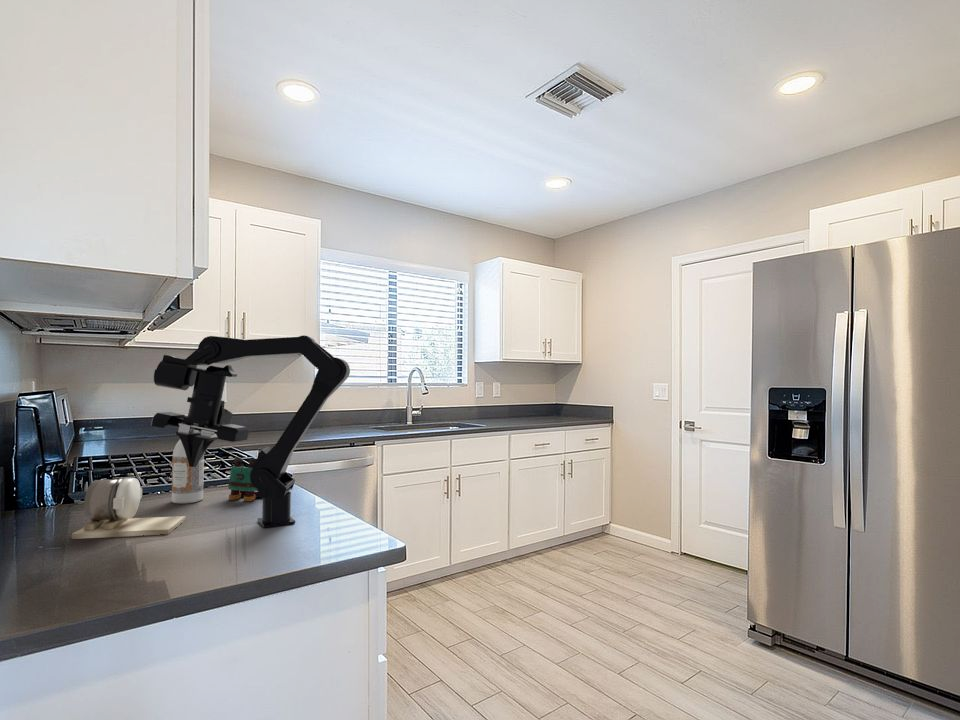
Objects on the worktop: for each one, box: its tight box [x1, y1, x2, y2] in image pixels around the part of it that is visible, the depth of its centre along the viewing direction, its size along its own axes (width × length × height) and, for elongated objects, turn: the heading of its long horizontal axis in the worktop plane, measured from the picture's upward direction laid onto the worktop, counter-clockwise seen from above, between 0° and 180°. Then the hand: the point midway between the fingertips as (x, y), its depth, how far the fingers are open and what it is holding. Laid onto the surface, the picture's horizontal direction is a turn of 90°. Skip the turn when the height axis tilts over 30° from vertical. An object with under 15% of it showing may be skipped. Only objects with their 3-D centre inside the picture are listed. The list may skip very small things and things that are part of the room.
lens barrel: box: [83, 477, 125, 522], centre depth 108 cm, size 5×8×8 cm, turn 12°
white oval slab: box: [113, 477, 143, 519], centre depth 109 cm, size 2×10×8 cm, turn 12°
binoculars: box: [228, 456, 260, 502], centre depth 138 cm, size 9×11×10 cm
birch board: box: [71, 515, 186, 540], centre depth 109 cm, size 17×10×2 cm, turn 102°
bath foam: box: [171, 439, 205, 505], centre depth 134 cm, size 7×7×20 cm
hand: (192, 466), depth 113 cm, fingers closed
